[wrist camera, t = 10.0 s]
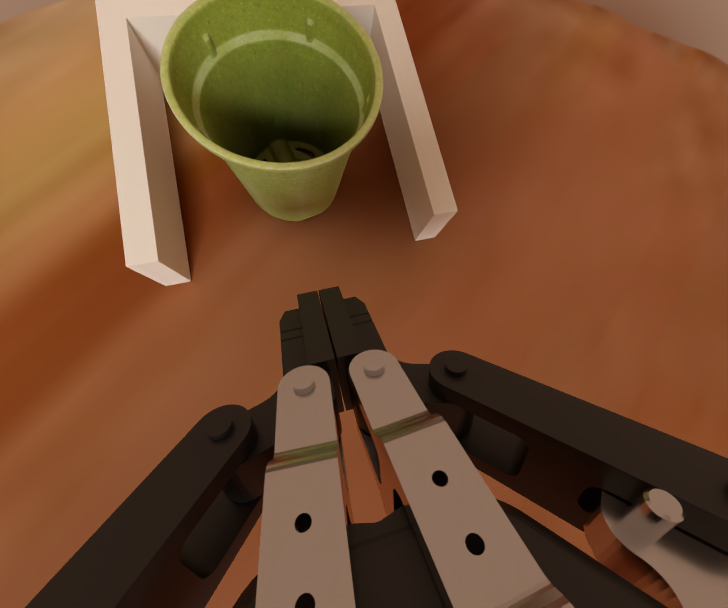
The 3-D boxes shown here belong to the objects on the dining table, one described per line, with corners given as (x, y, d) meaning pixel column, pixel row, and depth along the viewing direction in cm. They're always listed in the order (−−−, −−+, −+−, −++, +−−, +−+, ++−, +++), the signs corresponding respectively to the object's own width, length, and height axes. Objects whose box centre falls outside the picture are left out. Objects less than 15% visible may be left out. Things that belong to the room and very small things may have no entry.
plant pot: (378, 149, 23) (408, 26, 15) (337, 264, 21) (346, 199, 13) (255, 105, 23) (214, -50, 14) (202, 218, 21) (116, 117, 12)
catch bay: (165, 285, 20) (126, 266, 16) (135, 62, 22) (95, -3, 18) (434, 237, 22) (457, 210, 18) (380, 44, 25) (390, -15, 21)
